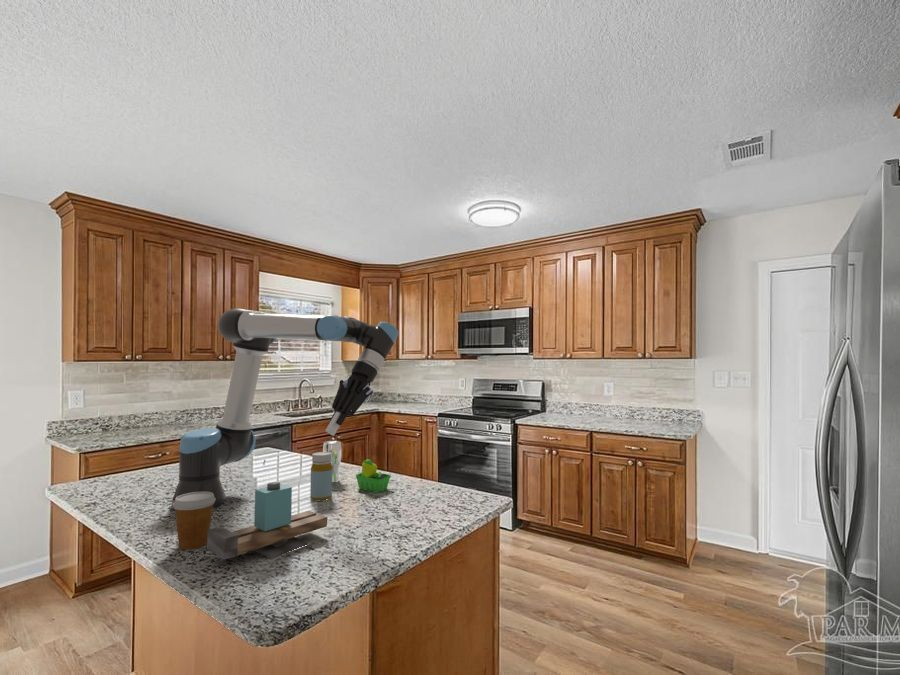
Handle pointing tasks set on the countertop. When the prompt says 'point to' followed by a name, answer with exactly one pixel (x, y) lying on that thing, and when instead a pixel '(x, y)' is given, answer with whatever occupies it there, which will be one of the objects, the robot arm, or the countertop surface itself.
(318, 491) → the bottle
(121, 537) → the countertop surface
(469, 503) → the countertop surface
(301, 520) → the balance beam
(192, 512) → the disposable coffee cup
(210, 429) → the robot arm
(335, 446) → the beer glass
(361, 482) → the fruit basket
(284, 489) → the block
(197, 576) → the countertop surface
